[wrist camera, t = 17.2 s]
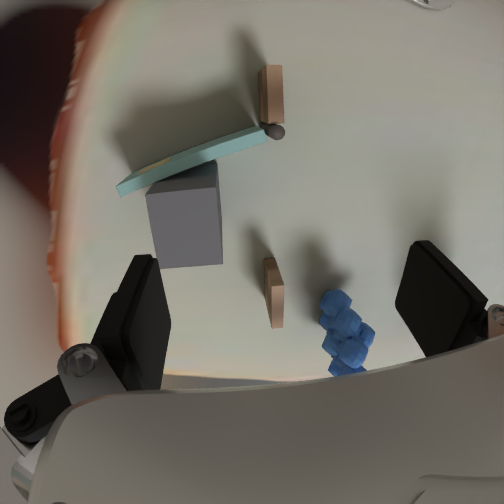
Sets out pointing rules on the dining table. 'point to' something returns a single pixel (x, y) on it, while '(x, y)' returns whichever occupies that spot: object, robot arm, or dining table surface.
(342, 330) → the grapes
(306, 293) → the dining table surface
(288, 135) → the dining table surface
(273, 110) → the brown wooden block
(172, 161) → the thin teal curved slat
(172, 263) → the doorstop block
